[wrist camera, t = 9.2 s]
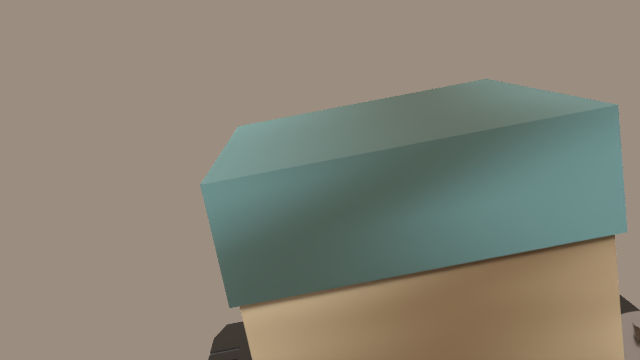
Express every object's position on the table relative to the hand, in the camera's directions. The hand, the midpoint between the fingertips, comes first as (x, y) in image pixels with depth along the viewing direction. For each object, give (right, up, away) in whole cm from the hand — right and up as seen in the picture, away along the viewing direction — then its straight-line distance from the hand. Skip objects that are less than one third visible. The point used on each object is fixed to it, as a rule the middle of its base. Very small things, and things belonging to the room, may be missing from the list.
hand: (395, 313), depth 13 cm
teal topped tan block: (+1, -7, -1) cm, 7 cm away
